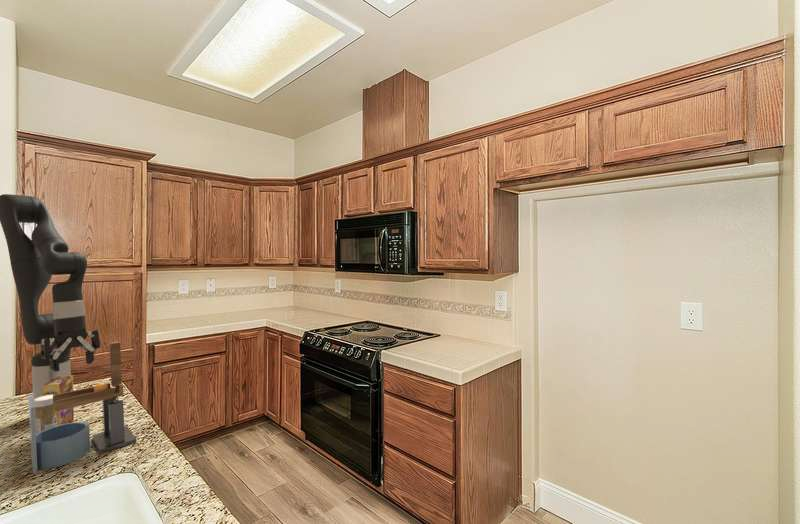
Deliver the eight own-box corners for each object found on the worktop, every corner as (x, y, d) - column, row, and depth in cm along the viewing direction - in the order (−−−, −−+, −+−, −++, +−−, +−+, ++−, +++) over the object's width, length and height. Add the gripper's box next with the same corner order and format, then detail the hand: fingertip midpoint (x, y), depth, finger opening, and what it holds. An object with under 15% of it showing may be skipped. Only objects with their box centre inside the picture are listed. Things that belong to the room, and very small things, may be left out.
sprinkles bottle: (56, 446, 102) (54, 397, 102) (33, 451, 100) (31, 401, 100) (60, 439, 106) (58, 392, 106) (38, 444, 104) (36, 396, 103)
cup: (31, 457, 97) (28, 396, 96) (86, 441, 105) (83, 384, 105) (33, 474, 89) (30, 408, 89) (92, 455, 97) (90, 394, 97)
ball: (91, 394, 102) (91, 384, 102) (104, 391, 105) (103, 380, 105) (97, 396, 101) (97, 385, 101) (110, 392, 104) (109, 382, 104)
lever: (53, 409, 98) (50, 350, 98) (118, 394, 108) (116, 340, 108) (55, 417, 94) (52, 354, 93) (123, 400, 104) (121, 343, 104)
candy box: (61, 435, 108) (58, 383, 108) (42, 438, 107) (39, 385, 107) (75, 422, 117) (73, 374, 116) (58, 425, 115) (56, 376, 115)
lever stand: (92, 438, 106) (90, 393, 106) (126, 428, 112) (125, 385, 112) (99, 454, 98) (97, 404, 98) (136, 442, 104) (134, 395, 104)
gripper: (89, 312, 125) (93, 360, 125) (33, 319, 112) (37, 373, 112) (102, 312, 122) (105, 361, 122) (46, 319, 109) (50, 375, 109)
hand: (73, 367), depth 117 cm, fingers open, 8 cm apart
